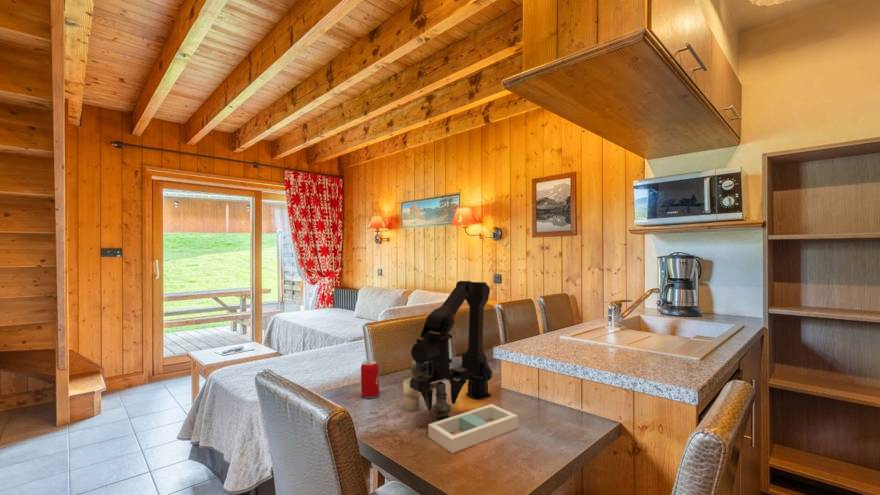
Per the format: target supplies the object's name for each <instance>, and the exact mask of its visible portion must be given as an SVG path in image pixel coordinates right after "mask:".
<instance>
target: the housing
mask: <svg viewBox="0 0 880 495" xmlns="http://www.w3.org/2000/svg"><path fill="white" fill-rule="evenodd" d="M518 416H519V415H517V414H514V413H513V412H510V411H508V410H506V409H504V408H502V407H499V406H497V405H495V404H492V403H491V404H488V405H485V406H482V407H478V408H475V409H472V410H468V411H465V412H462V413H460V414H455V415H452V416H449V417H450V418H447V419H443V420H440V421H437V422H435V421H434V422H432V423H429V424H428V426H427V428H428V438H429V439H430V440H432V441H433V442H435V443H437V444H438V445H439V446H441V447H443V448H444V449H445V450H446V451H449V453H452V454H454V453H456V452H460V451H462V450H465V449H467V448H470V447H473V446H475V445H478V444H479V443H483V442H485V441H488V440H491V439H493V438H497V437H498V436H499V437H500V436H501V435H504V434H506V433H509V432H511V431H515V430H517V429H518V428H519V418H518ZM491 419H492V420H493V421H490V422H488V420H491ZM459 430H460V431H461V432H459V433H457V434H452V433H454V432H456V431H459Z"/></svg>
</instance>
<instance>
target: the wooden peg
mask: <svg viewBox="0 0 880 495" xmlns="http://www.w3.org/2000/svg"><path fill="white" fill-rule="evenodd" d="M411 378H412V377H410V378H405V379H403V381H402V382H403V383H402V386H403V388H402V389H403V410H404V411H406V412H417V411H418V410H420V392H418V391H416V390H414V389H412V388H410V380H411Z"/></svg>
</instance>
